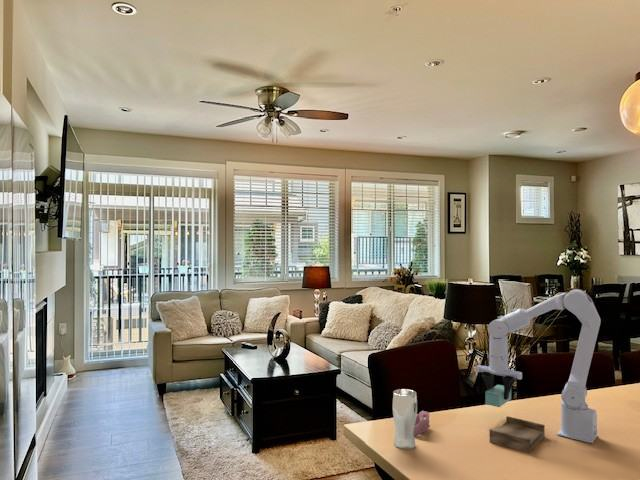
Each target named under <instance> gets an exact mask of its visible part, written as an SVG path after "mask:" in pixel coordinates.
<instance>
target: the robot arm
mask: <svg viewBox="0 0 640 480" xmlns="http://www.w3.org/2000/svg"><path fill="white" fill-rule="evenodd" d="M565 309H566V310H568V311H569V312H571V313H572V314H573V315H575V317H576V318H577V319H578V320H579V322H580V323H581V328H580V332H579V337H578V342H577V344H576V345H577V346H576V349H575V354H574V358H573V360H572V361H573V362H572V366H571V369H570V374H569V378H568V381H566V383H565V385H564V387H563V389H562V391H561V400H562V401H561V402H560V403H561V404H560V405H561V406H560V410H561V411H560V412H561V414H560V415H561V416H560V417H561V418H560V422H561V423H560V425H561V426H560V427H561V428H560V429H559V430H558V431H557V433H556V434H557V435H556V436H560V437H565V438H568V439H573V440H577V441H581V442H585V443H588V444H593V443H594V442H595V440H596V439H597V437H598V413H597V410H596V409H593V408H590V407H589V404H587V402H586V397H587V395H588V390H587V386H586V385H587V380H588V376H589V370H590V367H591V363H592V359H593V356H594V355H593V354H594V351H595V348H596V347H595V346H596V342H597V339H598V334H599V331H600V326H601V322H602V321H601V320H602V319H601V317H600V315H599V312H598V311H597V308H596V306H595V303H594V301H593V299H592V298H591V296H590V295H588V293H586V291H584V290H583V289H578V288H577V289H571V290H569V292H568V291H566V292H562V293H559V294H557V295H554V296H552V297H550V298H549V297H548V299H545V300H544V301H541V302H539V303H538V304H535V305H534V306H532V307H530V308H527V309H523V308H520V307H518V309H517V308H516V307H515V308H513V309H511V312H509V313H507V314H505V315H500V316H499V317H498V318H497V319H494V320H492V321H491V322H489V324H488V325H487V333H488V334H489V342H488V346H489V347H488V349H489V350H488V351H489V353H488V355H489V357H488V359H489V360H488V361H489V362H488V364H489V365H488V366H487V365H479V364H478V365H476V366H475V371H476V373H482V374H481V379H482V380H483V382H484V384H485V386H486V389H487V390H486V391H488V390H489V389H491V388H493V387H494V377H495V375H496V376H501V377H504V378H502V381H503V382H502V383H503V386H504V399H505V400H507V399H508V398H509V393H510V390H511V391H512V386H513V385H514V383H515V381H516V379H517V380H522V379H523V372H521V371H516V370H512V369H509V365H508V364H509V362H508V361H509V359H508V357H509V348H508V347H509V346H508V344H509V343H508V334H509V333H514V332H516V331H517V330H520V329H523V328H524V327H526V326H529V325H530V324H531V320H532V319H534V318H536V317H538V316H540V315H544V314H545V313H548V312H550V311H552V310H560V311H561V310H562V311H563V310H565Z"/></svg>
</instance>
